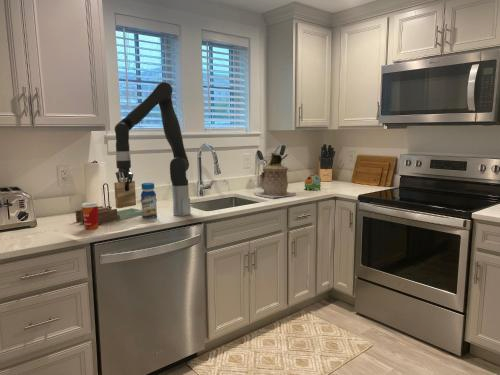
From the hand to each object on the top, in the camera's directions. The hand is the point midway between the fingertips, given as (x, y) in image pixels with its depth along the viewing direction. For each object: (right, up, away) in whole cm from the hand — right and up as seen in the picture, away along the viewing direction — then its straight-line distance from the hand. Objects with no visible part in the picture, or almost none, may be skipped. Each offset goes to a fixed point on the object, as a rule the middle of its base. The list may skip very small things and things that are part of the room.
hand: (125, 190), depth 209 cm
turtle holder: (+121, 0, +95) cm, 154 cm away
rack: (-11, -18, -10) cm, 23 cm away
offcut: (-11, -16, -11) cm, 22 cm away
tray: (0, -16, +2) cm, 16 cm away
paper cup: (-8, -20, -25) cm, 33 cm away
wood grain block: (0, -9, +1) cm, 9 cm away
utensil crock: (+88, -4, +70) cm, 113 cm away
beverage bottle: (+14, -16, -1) cm, 21 cm away
